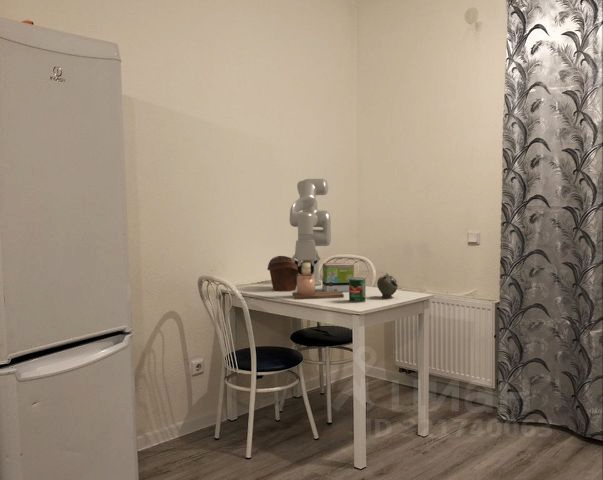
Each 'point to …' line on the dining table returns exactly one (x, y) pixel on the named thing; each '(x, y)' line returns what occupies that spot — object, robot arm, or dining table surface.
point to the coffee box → (337, 276)
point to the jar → (305, 284)
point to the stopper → (305, 267)
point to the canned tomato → (357, 290)
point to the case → (283, 273)
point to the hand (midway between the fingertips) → (305, 273)
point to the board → (320, 295)
